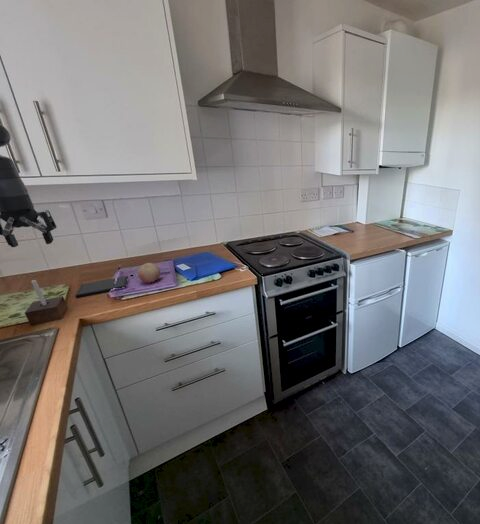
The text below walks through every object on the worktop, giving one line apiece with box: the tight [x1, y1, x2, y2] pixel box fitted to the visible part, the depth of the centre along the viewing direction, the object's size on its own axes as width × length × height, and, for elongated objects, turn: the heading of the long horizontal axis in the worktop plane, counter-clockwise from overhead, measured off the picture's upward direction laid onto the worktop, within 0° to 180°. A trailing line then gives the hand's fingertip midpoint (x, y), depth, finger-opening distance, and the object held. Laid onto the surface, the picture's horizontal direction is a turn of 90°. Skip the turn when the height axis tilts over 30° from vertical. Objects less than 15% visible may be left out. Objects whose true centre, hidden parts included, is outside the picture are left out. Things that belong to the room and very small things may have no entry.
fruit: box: [137, 262, 161, 284], centre depth 128 cm, size 8×8×8 cm
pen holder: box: [24, 295, 69, 326], centre depth 104 cm, size 8×8×5 cm
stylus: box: [30, 279, 47, 306], centre depth 102 cm, size 1×1×14 cm
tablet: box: [75, 275, 129, 299], centre depth 124 cm, size 16×11×1 cm
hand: (32, 244), depth 95 cm, fingers open, 8 cm apart
